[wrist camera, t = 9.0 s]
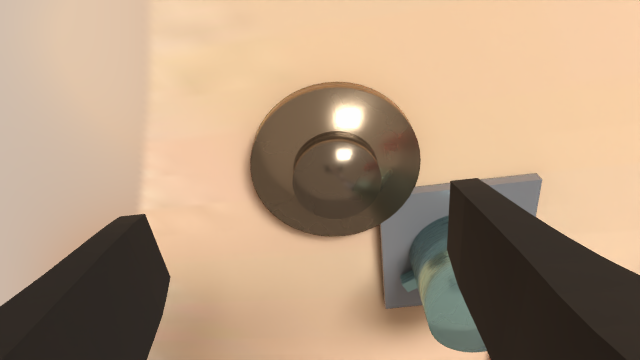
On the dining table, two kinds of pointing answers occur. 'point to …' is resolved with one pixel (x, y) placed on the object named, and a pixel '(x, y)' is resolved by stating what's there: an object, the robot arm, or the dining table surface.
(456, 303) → the teal mug
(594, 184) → the dining table surface
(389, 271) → the coaster
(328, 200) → the bronze metal disc
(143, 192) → the dining table surface
